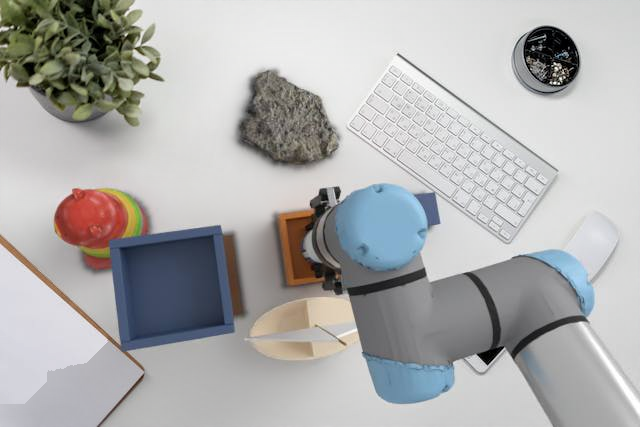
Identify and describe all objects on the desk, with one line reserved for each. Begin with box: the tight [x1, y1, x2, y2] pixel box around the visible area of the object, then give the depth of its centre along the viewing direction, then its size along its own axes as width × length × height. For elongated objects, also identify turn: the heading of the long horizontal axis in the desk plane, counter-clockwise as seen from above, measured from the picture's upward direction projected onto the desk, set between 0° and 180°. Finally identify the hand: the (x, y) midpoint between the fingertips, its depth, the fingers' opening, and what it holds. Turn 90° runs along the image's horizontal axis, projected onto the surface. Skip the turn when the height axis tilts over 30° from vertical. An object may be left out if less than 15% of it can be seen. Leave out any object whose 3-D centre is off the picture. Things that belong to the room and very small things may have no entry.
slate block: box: [413, 191, 441, 228], centre depth 83 cm, size 5×5×5 cm
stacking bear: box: [53, 187, 148, 271], centre depth 69 cm, size 11×10×18 cm
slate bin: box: [109, 224, 244, 353], centre depth 63 cm, size 12×12×34 cm
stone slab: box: [240, 69, 340, 165], centre depth 83 cm, size 12×17×3 cm
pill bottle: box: [300, 229, 323, 264], centre depth 77 cm, size 5×5×10 cm
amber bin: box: [276, 208, 339, 287], centre depth 81 cm, size 11×11×4 cm
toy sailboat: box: [244, 296, 360, 362], centre depth 69 cm, size 21×25×9 cm
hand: (316, 246), depth 82 cm, fingers closed on pill bottle, 5 cm apart
